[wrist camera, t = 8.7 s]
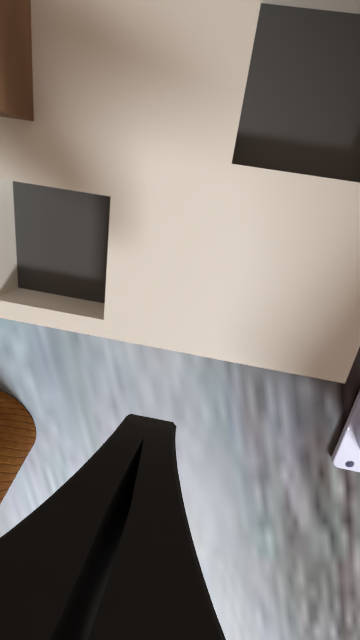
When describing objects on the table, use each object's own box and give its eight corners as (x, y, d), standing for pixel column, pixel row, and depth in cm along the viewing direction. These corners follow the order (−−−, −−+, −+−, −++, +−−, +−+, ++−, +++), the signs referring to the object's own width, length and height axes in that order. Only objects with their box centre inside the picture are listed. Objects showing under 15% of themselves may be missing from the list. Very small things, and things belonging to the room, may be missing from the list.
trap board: (463, -5, 13) (577, -97, 9) (330, 359, 19) (359, 408, 15) (-73, -61, 14) (-197, -163, 10) (-32, 291, 20) (-99, 318, 16)
